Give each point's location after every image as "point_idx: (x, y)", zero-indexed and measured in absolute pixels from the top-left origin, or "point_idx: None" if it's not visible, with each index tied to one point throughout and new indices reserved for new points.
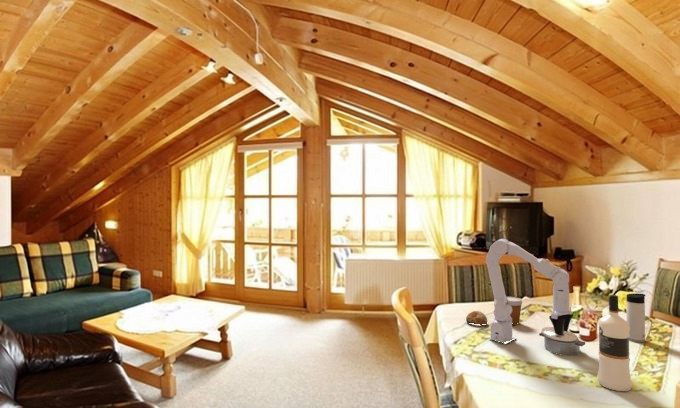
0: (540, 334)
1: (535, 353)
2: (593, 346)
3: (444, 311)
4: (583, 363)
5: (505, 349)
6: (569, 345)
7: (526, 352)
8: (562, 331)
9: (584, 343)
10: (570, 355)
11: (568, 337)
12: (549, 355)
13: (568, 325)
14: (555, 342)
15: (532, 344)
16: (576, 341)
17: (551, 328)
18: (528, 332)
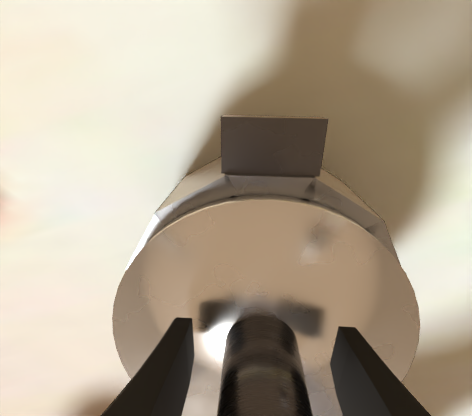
0: None
1: (426, 318)
2: (25, 117)
3: None
4: (443, 56)
5: (452, 410)
6: (369, 209)
7: (438, 348)
8: (282, 348)
9: (249, 116)
10: (333, 176)
11: (298, 263)
12: (414, 263)
13: (157, 376)
14: None
15: None
16: (286, 185)
17: (198, 408)
18: None
